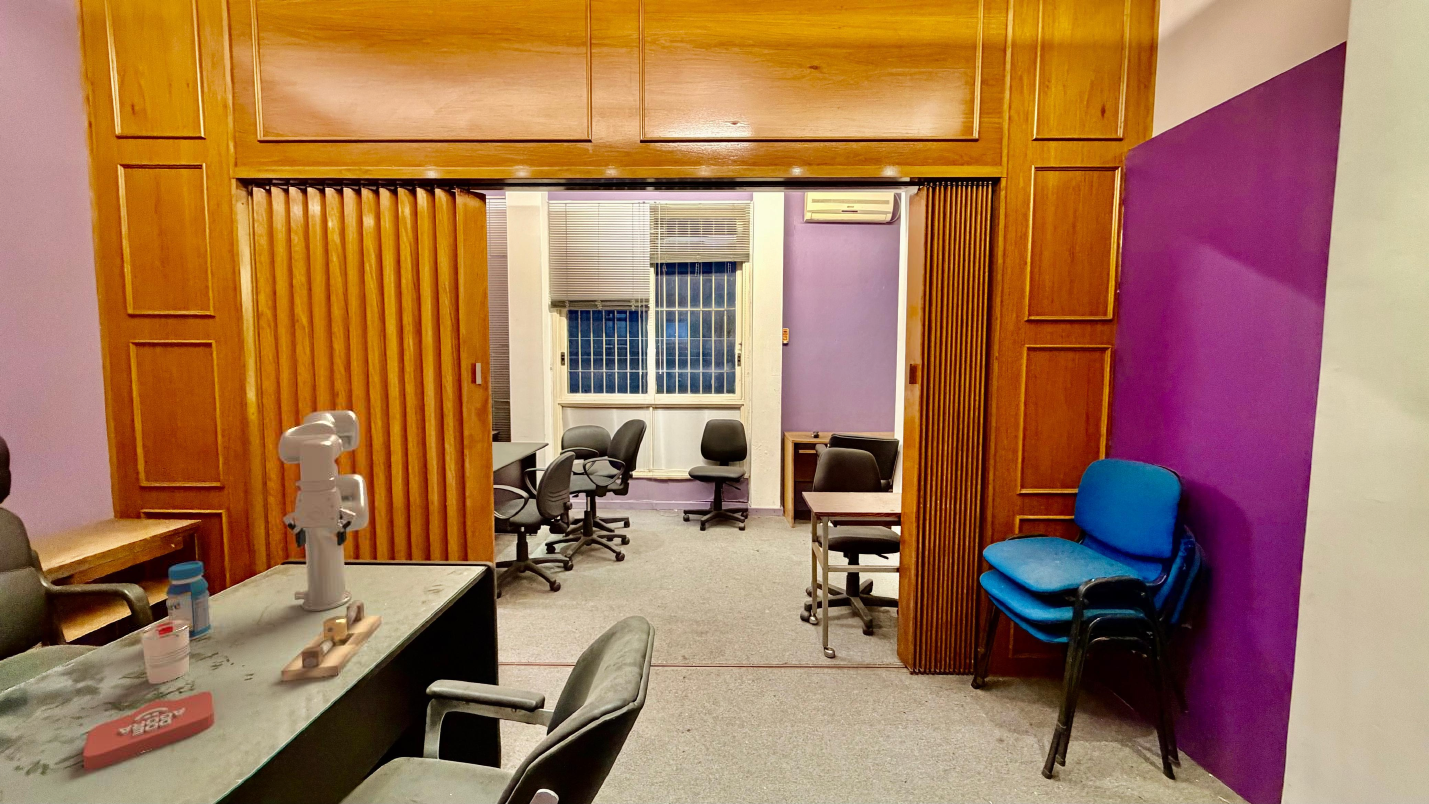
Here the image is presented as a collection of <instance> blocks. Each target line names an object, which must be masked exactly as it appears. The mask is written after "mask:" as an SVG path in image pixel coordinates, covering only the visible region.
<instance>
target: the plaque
mask: <svg viewBox="0 0 1429 804" xmlns="http://www.w3.org/2000/svg"><path fill="white" fill-rule="evenodd" d="M214 711H215V710H214V701H213V693H212V692H210V691H201V692H198V693H195V694H191V695H189V696H185V697H183V698H178V699H176V700H174V699H173V700H168V699H167V700H154V701H151V702H150V703H148V704H147V705H145V706H143V707H141V708H140V709H139V708H138V710H136V711H135V712H133V713H131V714H128V715H125V716H122V717H119V718H115V719H113V720H110V721H106V722H104V723H101V724H99V725H97V726H95V727H93V728H92V729H90V730H89V731H88V733H87V734H86V735H87V736H86V740H85V744H84V748H83V753H82V758H83V759H82V760H83V766H84V770H86V771H94V770H98V769H100V768H103V767H107V766H109V765H112V764H115V763H118V762H120V761H123V760H126V759H129V758H132V757H134V756H133V755H135V756H137V754H138V753H140V754H142V753H141V752H143V751H146V752H148V751H147V750H149V751H151V750H150V749H152V750H154V749H157V748H159V747H162V746H165V745H168V744H171V743H174V742H176V741H179V740H183V739H186V738H188V737H191V736H194V735H196V734H199V733H202V732H204V731H206V730H208V729H210V728H212V726H213V725H214V724H215V713H214ZM143 753H144V752H143ZM138 755H139V754H138Z"/></svg>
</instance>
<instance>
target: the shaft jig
mask: <svg viewBox="0 0 1429 804" xmlns="http://www.w3.org/2000/svg"><path fill="white" fill-rule="evenodd" d="M344 616H345V617H346V619H347V639H348V642H347V643H346V644H345V645H344V646H334V647H332V646H333V643H332V641H330V640H326V641H324V629H323V630H322V631H321V632H320V633H319V634H317V636H316V637H315V638H313V639H312V641H310V643H309V644H308V645H306V646H305V647H304V648H303V649H302V650H301V651H300V652H299V653H298V654H297V655H296V656H295V657H294V658H293V659H292V660H291V661H290V662H289V663H288V664H287V665H286V666H285V667H284V668H282V670H280V673H281V674H280V675H281V681H283V682H284V681H295V680H304V679H313V678H314V677H315V678H323V677H322V676H325V677H327V676H326V675H334V676H337V675H336V674H339V673H340V674H341V673H342V671H343V670H344V669H345V668H346V666H347V665H348V664H349V663H350V662H349V661H351V660H352V659H353V658H354V657H355V656H356V654H357V653H358V652H359V651H360V650H361V649H362V647H363V646H364V645H365V644H366V643H367V641H368V640H369V639H370V638H371V637H372V636H373V634H374V633H375V631H376V630H378V628H380V626H381V625H382V615H381V614H380V615H379V614H378V615H377V614H376V615H366V616H365V602H362V601H361V600H359V599H354V600H353V601H352V602H351V603H349V604H348V605H347V606H346V613H345V615H344ZM369 637H370V638H369ZM368 638H369V639H368ZM367 639H368V640H367ZM366 640H367V641H366ZM364 643H365V644H364ZM363 644H364V645H363ZM362 645H363V646H362ZM361 646H362V647H361ZM359 649H360V650H359ZM358 650H359V651H358ZM357 651H358V652H357ZM356 652H357V653H356ZM354 655H355V656H354ZM353 656H354V657H353ZM352 657H353V658H352ZM351 658H352V659H351ZM350 659H351V660H350ZM348 662H349V663H348ZM347 663H348V664H347ZM346 664H347V665H346ZM344 667H345V668H344ZM343 668H344V669H343ZM342 669H343V670H342ZM341 670H342V671H341ZM340 674H339V675H340Z"/></svg>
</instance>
